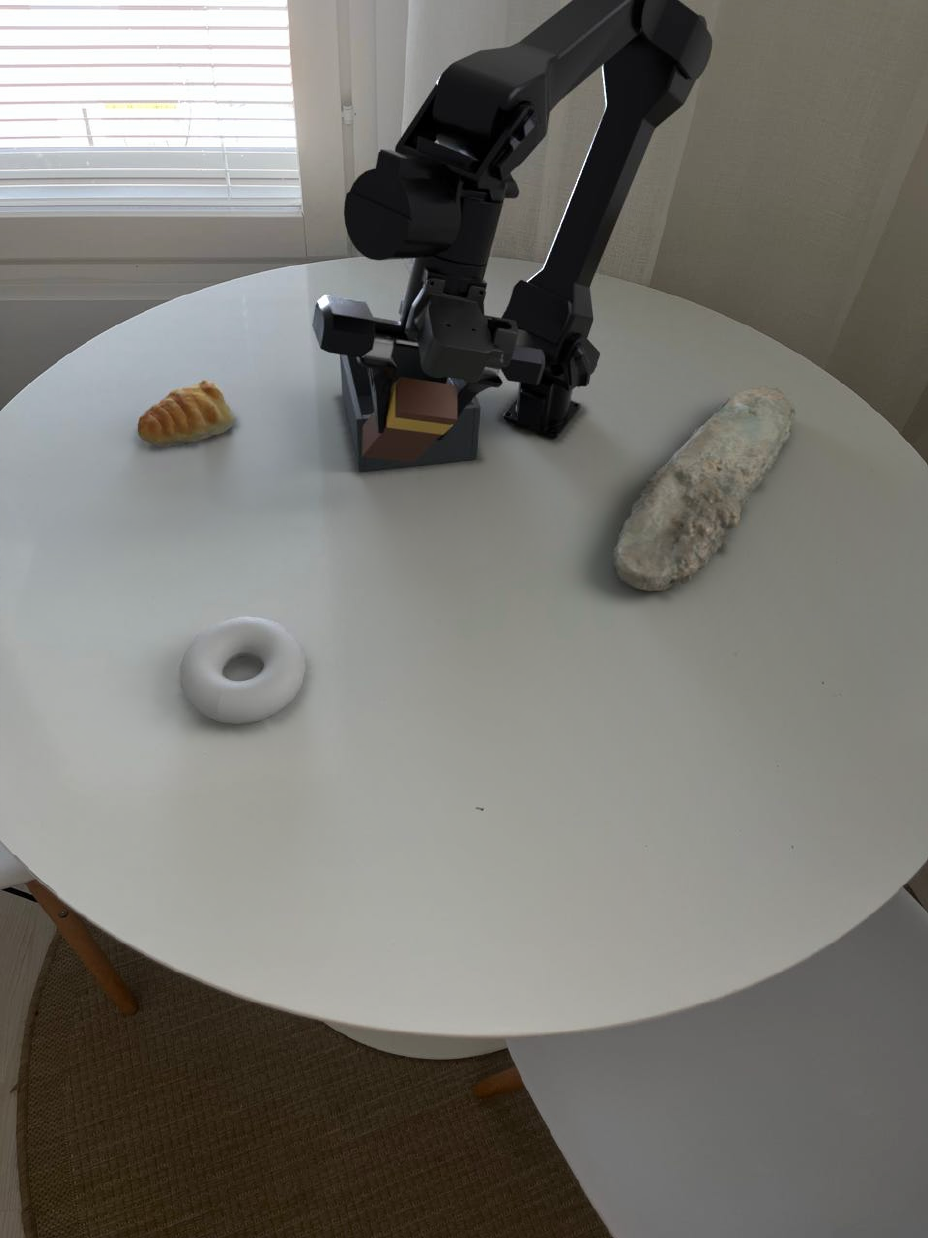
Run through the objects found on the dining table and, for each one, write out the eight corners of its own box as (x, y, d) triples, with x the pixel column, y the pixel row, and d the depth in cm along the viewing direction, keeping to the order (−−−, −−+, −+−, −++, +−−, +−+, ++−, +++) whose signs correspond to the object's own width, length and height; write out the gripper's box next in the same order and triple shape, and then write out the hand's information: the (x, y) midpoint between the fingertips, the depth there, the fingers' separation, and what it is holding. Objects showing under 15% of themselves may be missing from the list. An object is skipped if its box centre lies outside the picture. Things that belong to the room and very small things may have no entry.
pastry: (158, 462, 91) (149, 431, 88) (128, 427, 94) (119, 397, 91) (241, 427, 95) (235, 397, 92) (209, 396, 98) (203, 366, 95)
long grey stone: (809, 433, 101) (725, 404, 105) (824, 392, 97) (736, 363, 101) (685, 618, 80) (585, 574, 84) (698, 575, 76) (593, 530, 80)
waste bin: (451, 388, 101) (454, 336, 96) (476, 459, 94) (480, 407, 89) (342, 398, 99) (339, 346, 94) (359, 472, 91) (356, 419, 86)
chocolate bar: (361, 425, 85) (399, 375, 74) (413, 432, 87) (458, 384, 75) (361, 457, 84) (399, 412, 73) (413, 463, 86) (458, 420, 75)
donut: (308, 632, 78) (189, 634, 77) (306, 606, 76) (182, 608, 74) (305, 730, 72) (175, 734, 71) (302, 706, 69) (167, 710, 68)
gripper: (351, 261, 61) (314, 467, 70) (595, 309, 68) (534, 491, 76) (328, 217, 70) (297, 406, 78) (547, 263, 76) (497, 432, 85)
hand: (408, 435), depth 79 cm, fingers closed on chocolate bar, 5 cm apart
